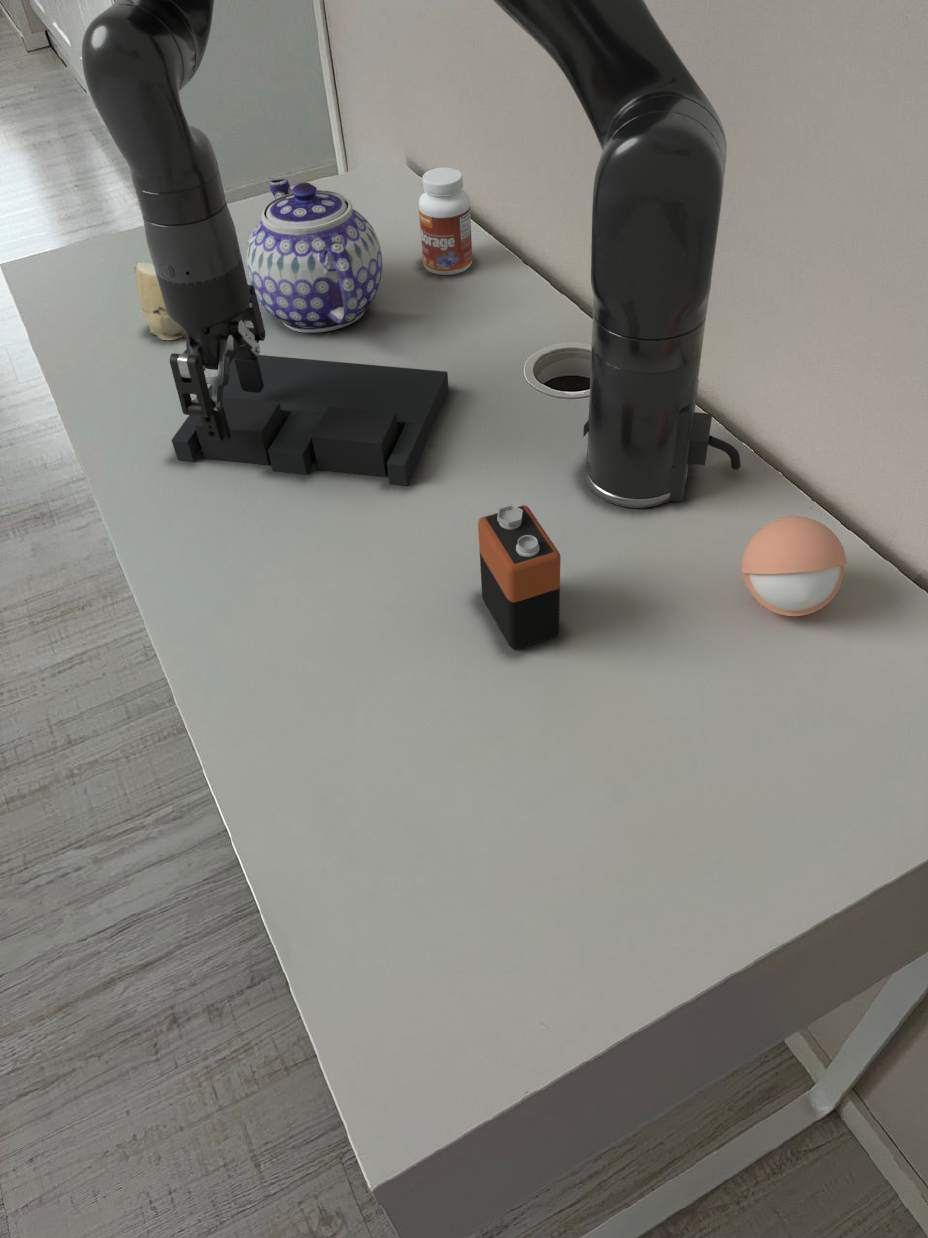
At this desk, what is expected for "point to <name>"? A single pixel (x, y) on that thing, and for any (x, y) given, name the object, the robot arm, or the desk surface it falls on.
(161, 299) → the beige upright cylinder
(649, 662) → the desk surface
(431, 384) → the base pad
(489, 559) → the battery
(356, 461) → the pad
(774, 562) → the toy ball
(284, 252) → the teapot
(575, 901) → the desk surface
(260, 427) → the pad
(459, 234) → the pill bottle
